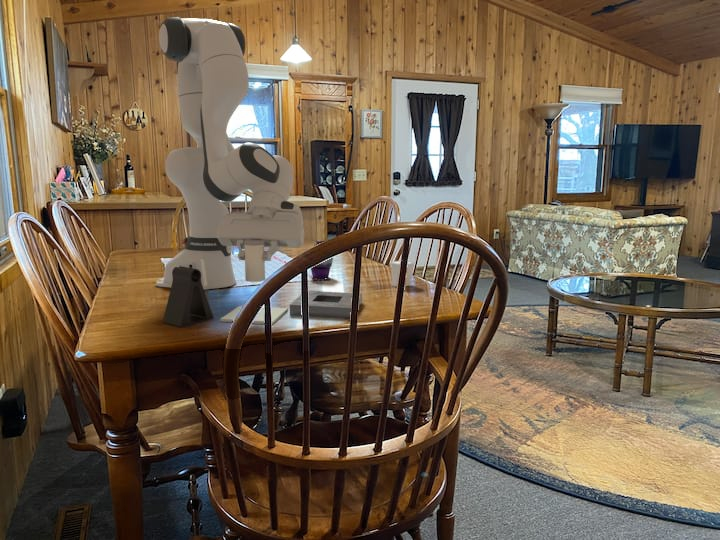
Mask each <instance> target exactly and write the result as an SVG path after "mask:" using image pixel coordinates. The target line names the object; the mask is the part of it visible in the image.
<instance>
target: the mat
mask: <svg viewBox="0 0 720 540" xmlns="http://www.w3.org/2000/svg"><path fill="white" fill-rule="evenodd" d="M242 306H243V305H239V306H237V307H236V308H234V309H233V310H231V311H230V312H228V313H227V314H225V315H224V316H222V317H221V318H220V320H219V321H220V322H223V323H225V322H226V323H233V322H232V321H233V319H234V318H235V316H236V314H237V313H238V311H239V310H240V309H241V307H242ZM271 308H272V325H274V324H275V323H276V322H277V321H279V320H280V318H282V317H283V316H284V315H285V314H286V313H287V312H288V311H289V308H288V307H287V308H286V307H284V308H283V307H271ZM252 324H254V325H255V324H257V325H265V324H264V308H262V309H261V311H260V313H259V314H258V316H257V317H256V319H255V320H254V322H253V323H252ZM272 325H271V326H272Z"/></svg>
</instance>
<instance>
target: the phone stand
mask: <svg viewBox="0 0 720 540" xmlns="http://www.w3.org/2000/svg"><path fill="white" fill-rule="evenodd" d="M172 276H173V282H172V286H171V288H170V290H169V296H168V299H167V304H166V307H165V311H164V315H163V319H162V323H164V324H165V325H171V326H173V327H178V328H180V329H181V328H182V329H183V328H186V327H189V326H194V325H196V324H199V323H203V322H207V321H211V320H213V319H214V315H213V312H212V310H211V307H210V304H209V301H208V297H207V295H206V292H205V290H204V289H203V286H202V283H201V272H200V271H199V270H198V269H193V268H187V267H181V266H179V267H175V268H174V269H173V271H172Z"/></svg>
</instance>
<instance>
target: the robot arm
mask: <svg viewBox="0 0 720 540" xmlns="http://www.w3.org/2000/svg"><path fill="white" fill-rule="evenodd" d="M158 41H159V42H158V43H159V45H160V49H161V52H162V55H164V57H166V59H168V60H170V61H173V62H177V63H178V65H177V75H176V77H177V82H176V83H177V95H178V96H177V97H178V105H179V112H180V113H179V114H180V122H181V125H182V128H183V130H185V131H186V133H188V134H189V135H190V136H191V137H192V139H193V140H194V142H195V143H196V145H197V147H196V146H187V147H181V148H176V149H173V150H171V151H170V152H169V153H168V155H167V157H166V159H165V163H164V170H165V174H166V176H167V178H168V179H169V181H170V182H171V183H172V184H173V185H175V186H176V187H177V189H178V190H179V192H180V193H181V195H182V197H183V199H184V201H185V204H186V208H187V215H188V223H189V224H188V225H189V236H186V237H185V238H184V239H181V241H182V242H181V245H183V244H184V249H182V250H181V251H180V252H179V253H177V254H175V256H174V257H173V258H171V259H170V260H169V261H168V262H166V264H165V267H164V270H163V271H164V272H163V277H161V278H159V279H157V280H156V282H155V286H156V287H161V288H169V289H171V286H172V282H173V276H172V271H173V269H174V268H175V267H179V266H181V267H187V268H193V269H198V270H199V271H200V272H201V283H202V286H203V289H204V291H205V290H210V289H220V288H228V287H232V286H234V285H236V284H237V279H236V277H235V272H234V269H233V263H232V249H233V248H232V247H237V249H238V254H237V259H238V260H239V261H245V249H244V241H245V240H264V248H267V250H264V252H263V256H262V257H263V259H264V261H265V262H271V260H272V257H273V256H274V255H275V254H276V253H277V252H278V251H279V248H290V249H291V248H292V249H294V248H295V249H299V248H301V246H303V244H304V239H305V227H304V217H303V212H302V210H301V207H300V206H299V204H298V203H296V202H293V201H288V200H289V199H290V197H291V194H292V190H293V184H294V178H295V177H294V168H293V166H292V164H291V162H290V161H289V160H288V159H287V158H285V157H283V156H281V155H278V154H277V155H276V154H275V155H272V154H271V153H270V152H269V151H268V150H267V149H265V148H264V147H262V146H261V145H259V144H257V143H254V142H244V143H242V144H241V145H239V146H238V147H236V148H234V146H233V144H232V142H231V140H230V137H229V136H228V134H227V128H228V125H229V121H230V119H231V118H232V116H233V115H234V113H235V111H236V110H237V109H238V107H239V106H240V105H241V103H242V102H243V101H244V99H245V98H246V97H247V94H248V92H249V87H250V85H249V84H250V80H249V71H248V69H247V68H248V67H247V64H246V59H245V54H246V38H245V35H244V33H243V30H242V29H241V27H239V26H237V25H235V24H234V23H230V22H222V21H218V20H213V19H208V18H186V17H185V18H181V17H179V16H173V17H168V18H165V19H164V20H163V21H162V22H161V23H160V27H159V31H158ZM249 190H250V191H251V193H252V195H251V199H250V203H249V206H248V209H247V211H229V208H228V207H227V206H226V205H225V204H224V203H228V202H232V201H234V200H236V199H237V198H238V197H240V196H241V195H242V194H243V193H245V192H247V191H249ZM223 202H224V203H223Z"/></svg>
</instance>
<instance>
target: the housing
mask: <svg viewBox="0 0 720 540" xmlns="http://www.w3.org/2000/svg"><path fill="white" fill-rule="evenodd" d="M308 291H309V316H308V317H316V318H317V317H322V318H334V319H335V318H336V319H350V312H351V298H352V293H353V292H340V291H339V292H338V291H322V290H321V291H320V290H308ZM362 304H363V293H360V298H359V308H360V307H361V306H362ZM360 305H361V306H360ZM289 316H301V294H300V295H298V296H297V298H296V299H295V298H294V300H293V301H292V302H291V303H289Z"/></svg>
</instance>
